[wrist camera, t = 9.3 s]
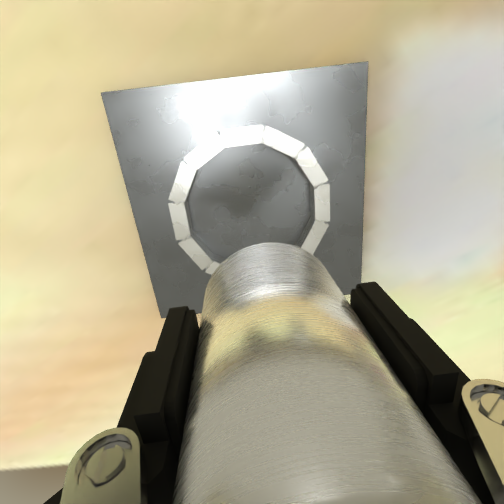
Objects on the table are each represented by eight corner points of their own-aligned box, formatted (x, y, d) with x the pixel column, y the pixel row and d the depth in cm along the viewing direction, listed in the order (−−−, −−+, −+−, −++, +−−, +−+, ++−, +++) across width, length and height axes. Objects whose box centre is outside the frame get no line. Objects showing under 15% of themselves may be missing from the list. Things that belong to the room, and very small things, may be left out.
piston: (333, 234, 11) (552, 464, 3) (334, 346, 13) (475, 648, 5) (193, 251, 11) (109, 526, 3) (215, 362, 13) (193, 691, 5)
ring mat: (364, 62, 22) (377, 57, 20) (358, 289, 30) (367, 301, 28) (104, 93, 22) (91, 90, 20) (162, 314, 29) (157, 327, 27)
